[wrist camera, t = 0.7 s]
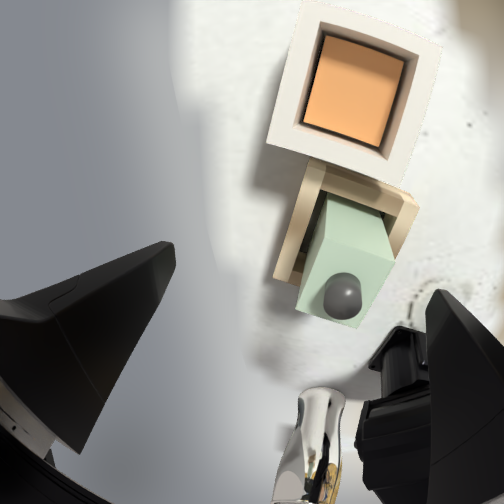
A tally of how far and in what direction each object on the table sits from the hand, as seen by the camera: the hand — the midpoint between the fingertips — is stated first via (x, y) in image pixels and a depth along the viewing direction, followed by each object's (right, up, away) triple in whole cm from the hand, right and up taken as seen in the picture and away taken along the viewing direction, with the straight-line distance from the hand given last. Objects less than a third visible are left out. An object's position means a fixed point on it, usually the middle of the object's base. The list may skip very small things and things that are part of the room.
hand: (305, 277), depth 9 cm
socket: (+5, +12, +8) cm, 15 cm away
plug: (+5, +3, +13) cm, 14 cm away
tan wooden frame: (+5, +3, +13) cm, 14 cm away
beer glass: (+7, -18, +25) cm, 31 cm away
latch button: (+5, +11, +6) cm, 13 cm away
